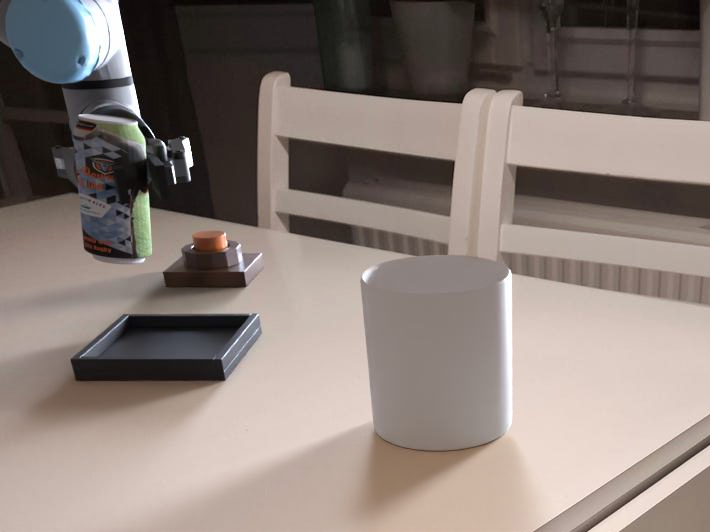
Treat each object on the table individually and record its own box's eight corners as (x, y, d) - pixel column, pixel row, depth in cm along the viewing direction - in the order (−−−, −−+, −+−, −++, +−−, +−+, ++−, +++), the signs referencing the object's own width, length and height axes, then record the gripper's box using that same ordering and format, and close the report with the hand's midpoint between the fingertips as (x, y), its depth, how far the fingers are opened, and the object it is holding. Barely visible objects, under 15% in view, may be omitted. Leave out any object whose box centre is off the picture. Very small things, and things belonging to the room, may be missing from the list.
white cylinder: (409, 393, 91) (399, 250, 84) (530, 407, 87) (532, 259, 80) (349, 441, 82) (333, 287, 75) (482, 459, 79) (478, 299, 72)
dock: (75, 380, 96) (69, 359, 95) (127, 333, 107) (123, 313, 106) (225, 380, 95) (221, 359, 94) (262, 332, 106) (259, 313, 105)
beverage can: (79, 262, 95) (42, 115, 88) (153, 249, 98) (123, 106, 91) (102, 275, 91) (65, 122, 84) (178, 261, 94) (149, 113, 87)
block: (165, 287, 122) (159, 255, 119) (187, 267, 129) (181, 238, 126) (246, 286, 121) (241, 255, 119) (264, 267, 128) (259, 237, 126)
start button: (190, 254, 121) (187, 238, 120) (200, 246, 125) (197, 230, 123) (222, 253, 121) (220, 238, 120) (231, 245, 124) (229, 230, 123)
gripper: (200, 180, 109) (240, 222, 92) (48, 194, 105) (59, 241, 87) (186, 99, 104) (226, 127, 87) (26, 110, 100) (34, 142, 83)
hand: (142, 184), depth 87 cm, fingers closed on beverage can, 3 cm apart
